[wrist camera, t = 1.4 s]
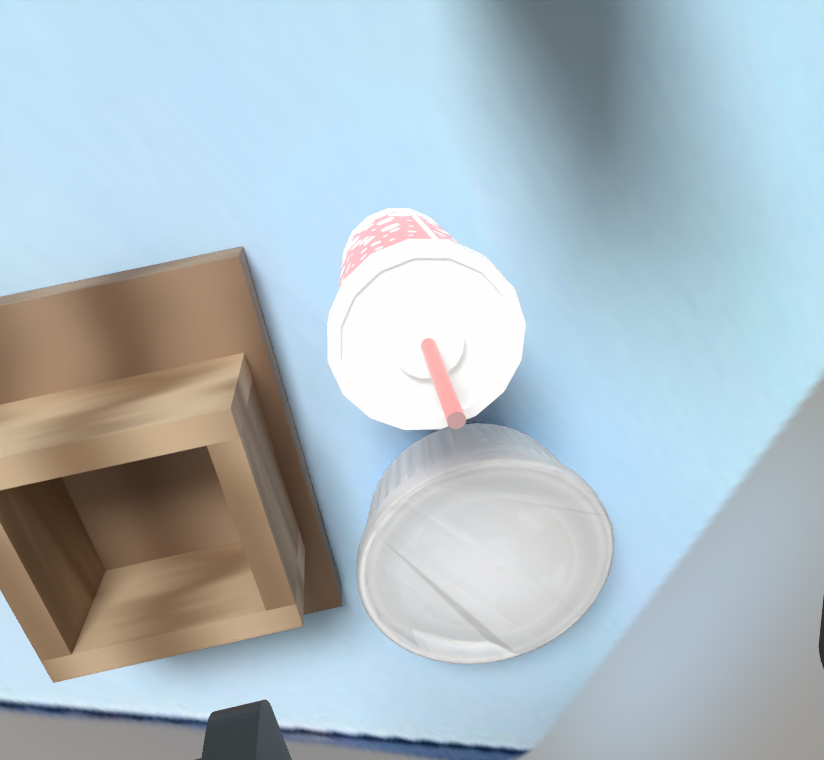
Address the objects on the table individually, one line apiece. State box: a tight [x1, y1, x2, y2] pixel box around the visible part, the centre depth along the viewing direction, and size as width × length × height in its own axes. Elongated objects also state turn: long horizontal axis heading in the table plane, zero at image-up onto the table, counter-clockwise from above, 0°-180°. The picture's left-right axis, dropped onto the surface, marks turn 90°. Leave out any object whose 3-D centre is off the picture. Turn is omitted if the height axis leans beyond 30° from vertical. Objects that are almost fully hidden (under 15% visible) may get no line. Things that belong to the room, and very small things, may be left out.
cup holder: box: [0, 246, 342, 683], centre depth 29 cm, size 12×18×6 cm, turn 10°
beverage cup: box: [327, 208, 526, 430], centre depth 23 cm, size 6×6×14 cm
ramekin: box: [357, 423, 614, 664], centre depth 33 cm, size 11×11×5 cm
